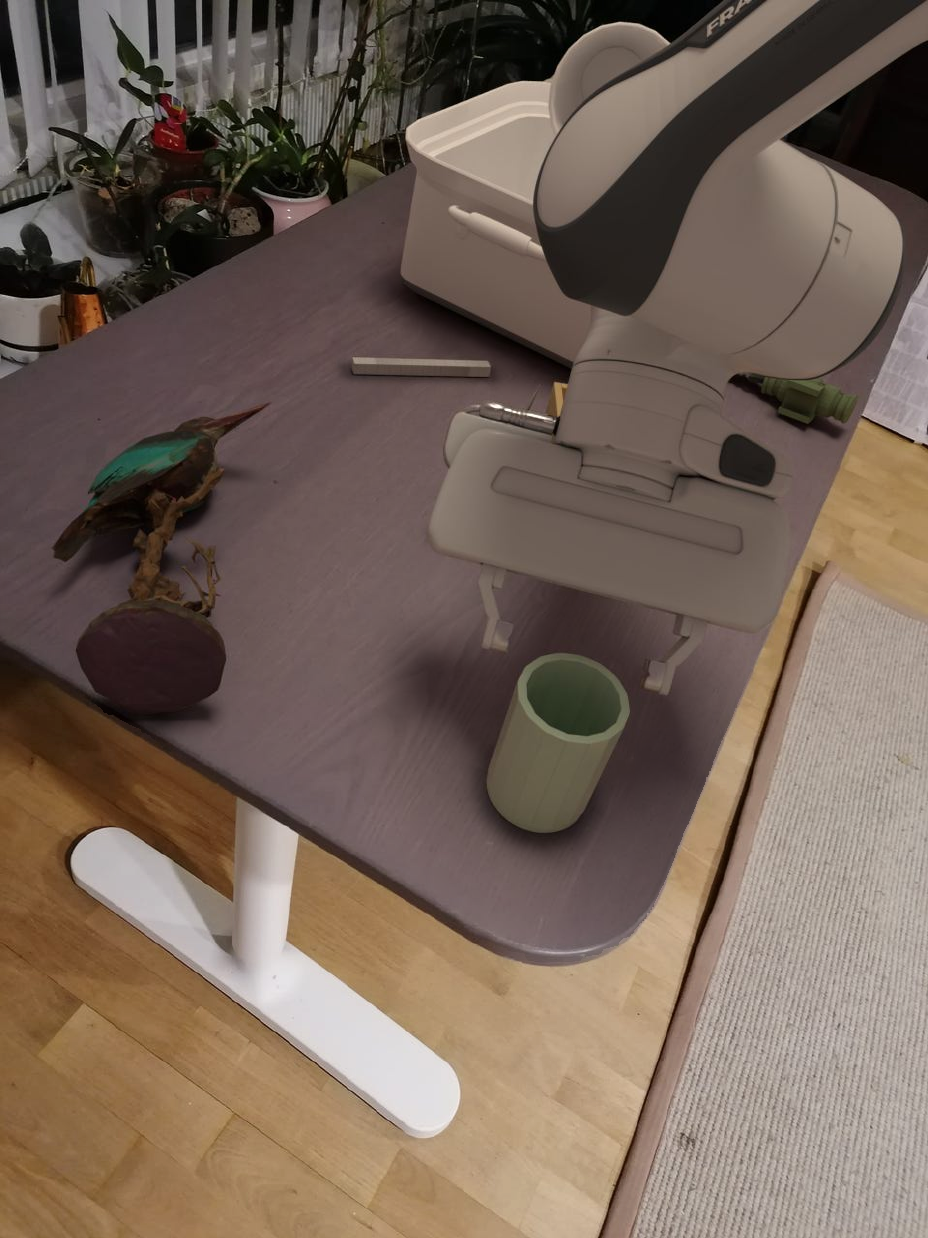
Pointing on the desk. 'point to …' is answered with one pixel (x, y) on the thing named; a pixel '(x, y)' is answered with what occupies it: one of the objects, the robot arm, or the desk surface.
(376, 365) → the gray square bar
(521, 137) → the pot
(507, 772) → the tumbler
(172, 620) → the sculpture
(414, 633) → the desk surface
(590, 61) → the cup
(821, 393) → the green ridged long piece
